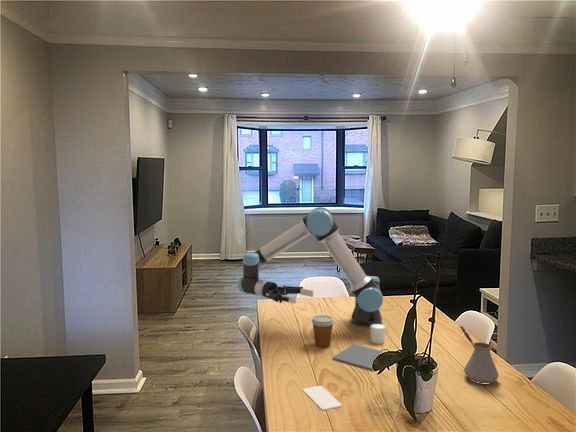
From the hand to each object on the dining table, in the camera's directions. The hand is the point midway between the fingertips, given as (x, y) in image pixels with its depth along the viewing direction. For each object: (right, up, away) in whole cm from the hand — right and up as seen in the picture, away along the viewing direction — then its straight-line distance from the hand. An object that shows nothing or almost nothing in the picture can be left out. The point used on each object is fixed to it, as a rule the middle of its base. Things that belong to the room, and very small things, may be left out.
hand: (304, 297), depth 201 cm
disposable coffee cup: (+8, -20, -4) cm, 22 cm away
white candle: (+33, -20, +2) cm, 38 cm away
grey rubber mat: (+23, -22, -16) cm, 36 cm away
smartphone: (+4, -25, -49) cm, 55 cm away
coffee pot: (+62, -23, -30) cm, 73 cm away
